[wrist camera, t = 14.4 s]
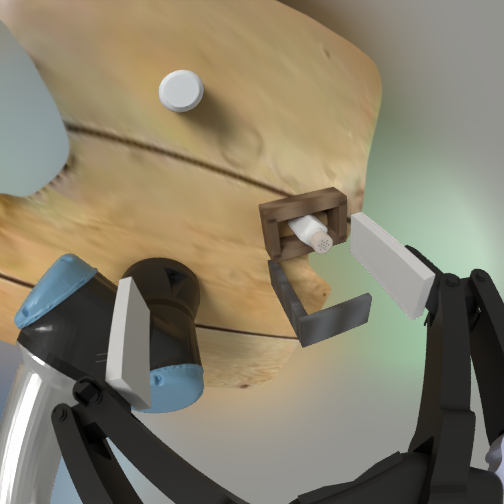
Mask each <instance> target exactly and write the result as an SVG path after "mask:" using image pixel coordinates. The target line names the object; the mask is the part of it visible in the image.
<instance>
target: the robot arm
mask: <svg viewBox="0 0 504 504" xmlns="http://www.w3.org/2000/svg"><path fill="white" fill-rule="evenodd" d="M350 253H351V254H352V255H353V256H354V257H355V258H356V259H357V260H358V261H359V262H360V263H361V264H362V265H363V266H364V268H365V269H366V270H367V271H368V272H369V273H370V274H371V275H372V276H373V277H374V278H375V280H376V281H377V282H378V283H379V284H380V285H381V286H382V287H383V288H384V290H385V291H386V292H387V293H388V294H389V295H390V296H391V298H392V299H393V300H394V301H395V302H396V303H397V304H398V306H399V307H400V308H401V309H402V310H403V311H404V313H405V314H406V315H407V316H408V317H409V318H410V320H411V321H412V320H414V319H416V318H418V317H420V316H422V314H423V311H424V308H425V307H426V308H427V309H428V311H429V312H428V315H427V317H426V320H425V322H424V326H426V323H427V344H426V346H427V347H426V360H425V372H424V382H423V390H422V397H421V404H420V410H419V417H418V422H417V427H416V431H415V434H414V436H413V438H412V440H411V443H410V446H409V449H408V452H406V453H401V454H400V452H399V451H398V452H396V453H394V454H392V455H391V456H389V457H387V458H385V459H383V460H381V461H380V462H378V463H376V464H375V465H373V466H372V467H371V468H370V469H368V470H367V471H366V472H364V473H363V474H362V475H360V476H359V477H358V478H357V479H355V480H354V481H352V482H347V483H342V484H337V485H331V486H324V487H322V488H319V489H316V490H313V491H310V492H308V493H305V494H302V495H298V498H297V499H295V500H293V501H292V502H290V503H289V504H503V491H504V303H503V301H502V299H501V297H500V295H499V293H498V291H497V289H496V287H495V285H494V283H493V281H492V279H491V277H490V276H489V274H488V273H487V272H485V271H484V270H481V269H474V270H473V271H471V274H470V277H468V278H462V279H460V278H459V277H458V276H456V275H454V274H451V273H445V274H444V273H443V272H441V271H440V270H439V269H438V268H437V267H436V266H434V264H433V263H431V262H430V261H429V260H427V258H426V257H424V256H423V255H422V254H421V253H420V252H419V251H418V250H416V249H415V248H413V247H411V246H408V245H406V246H403V245H401V243H399V242H398V241H397V240H396V239H395V238H393V237H392V236H391V235H390V234H389V233H387V232H386V231H385V230H384V229H382V228H381V227H380V226H379V225H378V224H376V223H375V222H374V221H372V220H371V219H370V218H369V217H367V216H366V215H365V214H363V213H362V212H359V213H356V214H352V215H351V241H350ZM199 303H200V290H199V285H198V281H197V279H196V277H195V275H194V274H193V273H192V272H191V271H190V270H189V269H188V268H187V267H186V266H184V265H183V264H181V263H179V262H177V261H174V260H171V259H167V258H149V259H145V260H142V261H139V262H137V263H135V264H134V265H132V266H131V267H130V268H129V269H128V270H127V271H126V272H125V273H124V275H123V277H122V279H121V280H119V285H118V286H116V285H115V284H114V283H112V282H111V281H110V280H108V279H107V278H106V277H104V276H103V275H102V274H101V273H99V272H98V269H97V268H93V267H91V266H90V265H89V264H87V263H86V262H85V261H83V260H82V259H80V258H79V257H78V256H76V255H74V254H65V255H62V256H61V257H60V258H58V259H57V260H56V261H55V262H54V264H53V265H52V266H51V267H50V268H49V269H48V270H47V272H46V273H45V274H44V275H43V276H42V278H41V279H40V280H39V282H38V283H37V284H36V285H35V287H34V288H33V289H32V291H31V292H30V294H29V295H28V296H27V298H26V299H25V301H24V302H23V304H22V306H21V307H20V309H19V310H18V312H17V313H16V315H15V317H14V322H15V324H16V325H17V327H18V328H19V329H21V331H20V334H19V336H18V338H17V341H16V344H17V348H18V351H19V354H20V358H21V362H20V365H19V367H18V370H17V373H16V375H15V379H14V381H13V384H12V387H11V390H10V393H9V396H8V399H7V402H6V405H5V409H4V412H3V416H2V420H1V423H0V504H50V499H51V495H52V490H53V486H54V482H55V477H56V474H57V470H58V466H59V463H60V459H61V456H63V459H64V461H65V464H66V466H67V469H68V471H69V474H70V476H71V479H72V481H73V483H74V486H75V488H76V490H77V492H78V494H79V497H80V499H81V501H82V503H83V504H143V502H142V501H141V499H140V498H139V496H138V495H137V493H136V492H135V490H134V488H133V487H132V485H131V484H130V482H129V480H128V479H127V477H126V475H125V474H124V472H123V470H122V468H121V467H120V465H119V463H118V461H117V459H116V458H115V456H114V454H113V452H112V450H111V448H110V446H109V444H108V442H107V440H106V438H107V437H109V439H110V440H111V441H112V442H113V443H114V444H115V445H116V447H117V448H118V449H119V450H120V451H121V452H122V453H123V454H124V456H125V457H126V458H127V459H128V460H129V461H130V462H131V463H132V464H133V465H134V466H135V467H136V468H137V469H138V470H139V471H140V472H141V473H142V474H143V475H144V476H145V477H146V478H147V479H148V480H149V481H150V482H151V483H152V484H154V485H155V486H156V487H157V488H158V489H159V490H160V491H161V492H162V493H164V494H165V495H166V496H167V497H168V498H169V499H171V500H172V501H173V502H174V503H175V504H250V503H248V502H245V501H244V500H242V499H241V498H239V497H237V496H235V495H234V494H232V493H231V492H229V491H228V490H226V489H224V488H223V487H221V486H220V485H218V484H217V483H215V482H214V481H213V480H211V479H210V478H208V477H207V476H205V475H204V474H203V473H201V472H200V471H198V470H197V469H196V468H194V467H193V466H192V465H190V464H189V463H188V462H187V461H185V460H184V459H183V458H182V457H180V456H179V455H178V454H177V453H175V452H174V451H173V450H172V449H171V448H169V447H168V446H167V445H166V444H165V443H163V442H162V441H161V440H160V439H159V438H158V437H157V436H156V435H154V434H153V433H152V432H151V431H150V430H149V429H148V428H147V427H146V426H145V425H144V424H143V423H141V421H140V420H138V419H137V418H136V417H135V416H134V415H133V414H132V413H131V409H132V410H136V411H139V412H144V413H165V412H172V411H177V410H180V409H183V408H185V407H188V406H189V405H191V404H193V403H194V402H196V401H197V400H198V399H199V398H200V397H201V395H202V393H203V389H204V382H203V372H204V371H203V367H202V364H201V359H200V354H199V348H198V342H197V337H196V331H195V325H194V320H195V316H196V313H197V310H198V307H199ZM479 308H480V310H479ZM470 355H471V358H472V362H473V366H474V370H475V374H476V379H477V383H478V387H479V393H480V398H481V403H482V408H483V415H484V422H485V428H486V434H487V438H488V441H489V445H490V449H489V452H488V453H487V454H486V457H485V460H486V462H487V463H489V468H488V471H486V470H482V469H478V468H474V467H470V462H471V456H472V449H473V441H474V433H475V421H476V416H475V413H474V412H472V411H471V410H470V395H471V358H470Z"/></svg>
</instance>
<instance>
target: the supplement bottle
mask: <svg viewBox="0 0 504 504" xmlns="http://www.w3.org/2000/svg"><path fill="white" fill-rule="evenodd" d="M203 93H204V86H203V83H202V81H201V79H200V78H199V76H198V75H196V74H195V73H193V72H191V71H188V70H178V71H174V72H172V73H170V74H169V75H167V76H166V77H165V78H164V79H163V81H162V82H161V84H160V87H159V99H160V101H161V103H162V104H163V106H164V107H166V108H167V109H169V110H171V111H173V112H186V111H189V110H191V109H193V108H194V107H196V106H197V105H198V104H199V102H200V101H201V99H202V97H203Z"/></svg>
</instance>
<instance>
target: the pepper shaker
mask: <svg viewBox="0 0 504 504" xmlns="http://www.w3.org/2000/svg"><path fill="white" fill-rule="evenodd" d="M287 224H288V225H289V227H290V228H291V229H292V230H293V232H294V233H295V234H296V235H297V237H298V238H299V239H300V240H301V241H302V242H304V243H306V244H307V245H309V246H311V247H312V248H313V249H314V250H315V251H316V252H317V253H319V254H323V253H326V252H328V251H329V250H330V248H331V247H332V245H333V241H332V239H331V237H330V236H329V235H328V234H327V230H328V229H327V227H326V226H325V225H324V224H323V223H322V222H321V221H320V220H319V219H318V218H317V217H316V216H314V215H313V214H312V213H311V214H307V215H303V216H299V217H295V218H291V219H289V220H288V222H287Z"/></svg>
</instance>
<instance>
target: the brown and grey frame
mask: <svg viewBox="0 0 504 504" xmlns="http://www.w3.org/2000/svg"><path fill="white" fill-rule="evenodd" d="M326 209H327V219H328V225H327V226H326V227H327V229H328V230H327V234H328V235H329V236H330V237H331V239H332V241H333V245H337V244H340V243H343V242H346V233H347V196H346V195H344V194H343V193H342V192H340V191H339V190H337V189H336V188H335V187H331V188H326V189H322V190H318V191H313V192H309V193H305V194H301V195H296V196H292V197H288V198H284V199H280V200H276V201H272V202H268V203H264V204H260V205H259V211H260V217H261V223H262V229H263V235H264V241H265V247H266V251H267V252H268V254H269V256H270V258H271V260H268V266H269V272H270V278H271V285H272V287H273V289H274V291H275V293H276V295H277V297H278V299H279V301H280V303H281V305H282V307H283V309H284V311H285V313H286V315H287V317H288V319H289V321H290V323H291V325H292V327H293V329H294V331H295V333H296V335H297V337H298V339H299V341H300V343H301V345H302V347H306V346H309V345H312V344H314V343H317V342H320V341H322V340H325V339H328V338H330V337H333V336H335V335H338V334H340V333H343V332H345V331H348V330H350V329H352V328H355V327H357V326H360V325H362V324H364V323H367V322H368V317H369V312H370V306H371V301H372V297H371V295H370V294H369V293H366V294H363V295H361V296H358V297H356V298H353V299H351V300H348V301H345V302H343V303H340V304H337V305H335V306H332V307H329V308H327V309H324V310H321V311H318V312H315V313H313V314H310V315H308V314H307V312H306V311H305V309H304V307H303V305H302V304H301V302H300V300H299V298H298V297H297V295H296V293H295V291H294V290H293V288H292V286H291V285H290V283H289V281H288V279H287V278H286V276H285V274H284V272H283V271H282V269H281V267H280V266H279V264H278V262H280V261H284V260H287V259H290V258H294V257H297V256H300V255H304V254H307V253H310V252H314V251H315V250H314V249H313V248H312V247H311V246H309V245H307V244H306V243H304V242H302V241H301V240H300V239H299V238H298V237H297V235H296V234H294V235H291V236H287V237H283V238H280V239H279V233H278V225H277V222H280V221H284V220H288V219H291V218H295V217H299V216H303V215H307V214H311V213H314V212H318V211H322V210H326ZM333 245H332V246H333Z"/></svg>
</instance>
